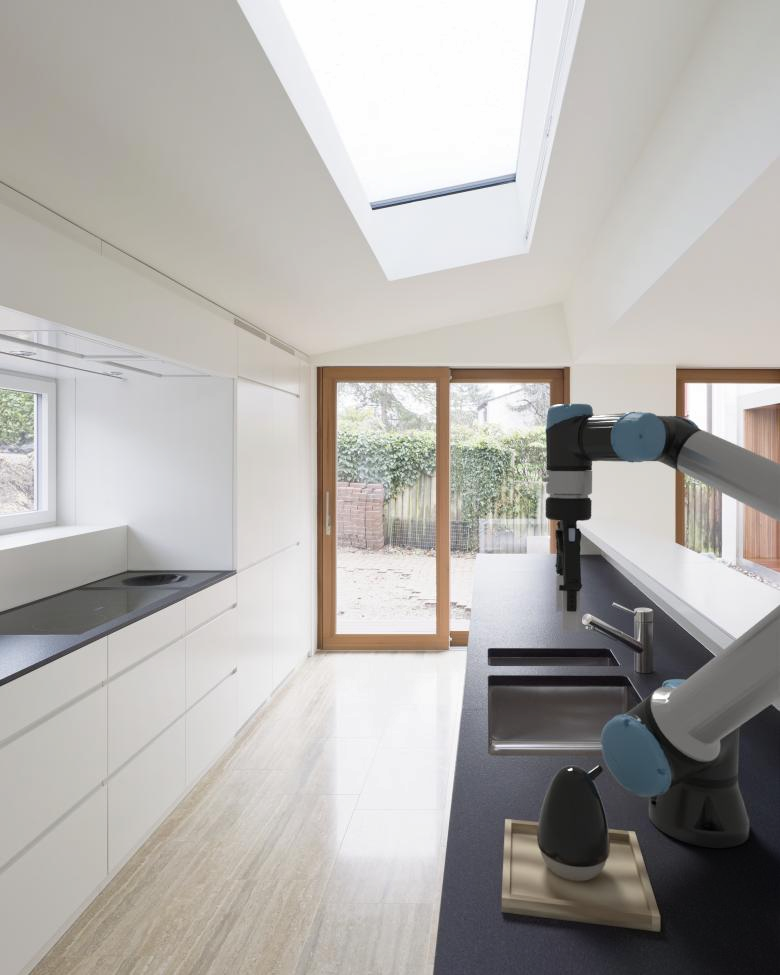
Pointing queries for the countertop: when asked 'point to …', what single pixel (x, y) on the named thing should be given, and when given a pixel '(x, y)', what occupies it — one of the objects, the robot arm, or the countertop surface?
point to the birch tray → (578, 883)
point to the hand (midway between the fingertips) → (567, 620)
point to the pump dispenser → (574, 825)
